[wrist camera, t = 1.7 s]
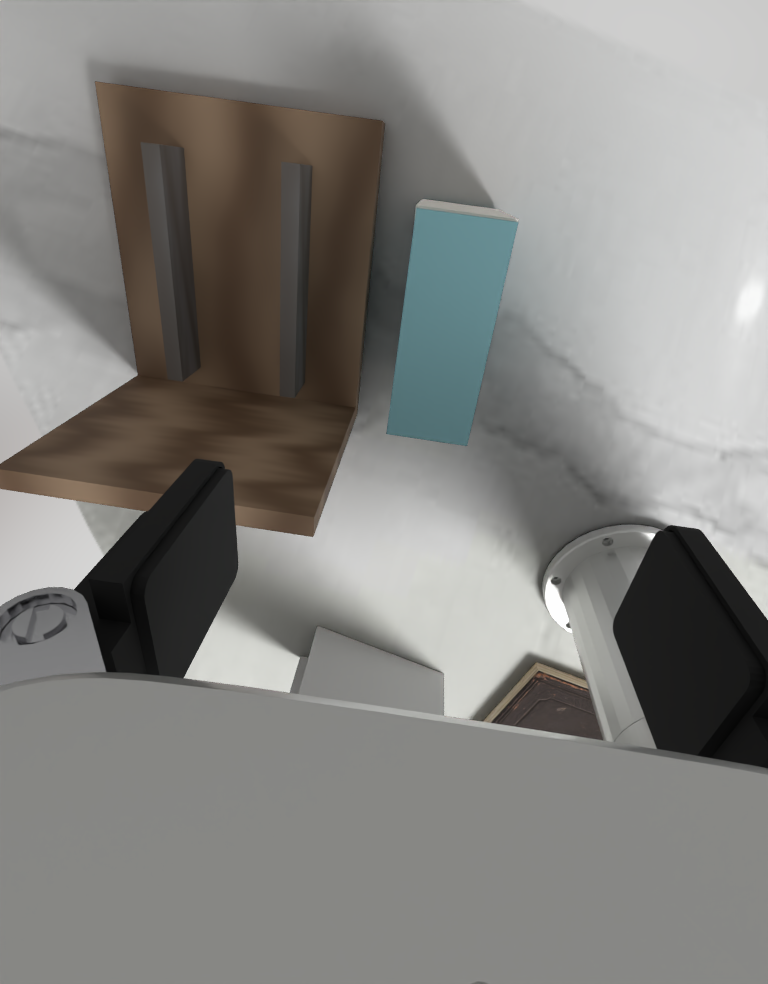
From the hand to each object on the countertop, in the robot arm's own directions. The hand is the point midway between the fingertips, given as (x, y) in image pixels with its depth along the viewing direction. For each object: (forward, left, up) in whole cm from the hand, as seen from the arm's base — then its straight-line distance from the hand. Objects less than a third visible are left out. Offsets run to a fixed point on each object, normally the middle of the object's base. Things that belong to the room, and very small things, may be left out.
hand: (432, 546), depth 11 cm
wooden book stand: (+13, 0, -26) cm, 29 cm away
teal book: (0, 0, -26) cm, 26 cm away
